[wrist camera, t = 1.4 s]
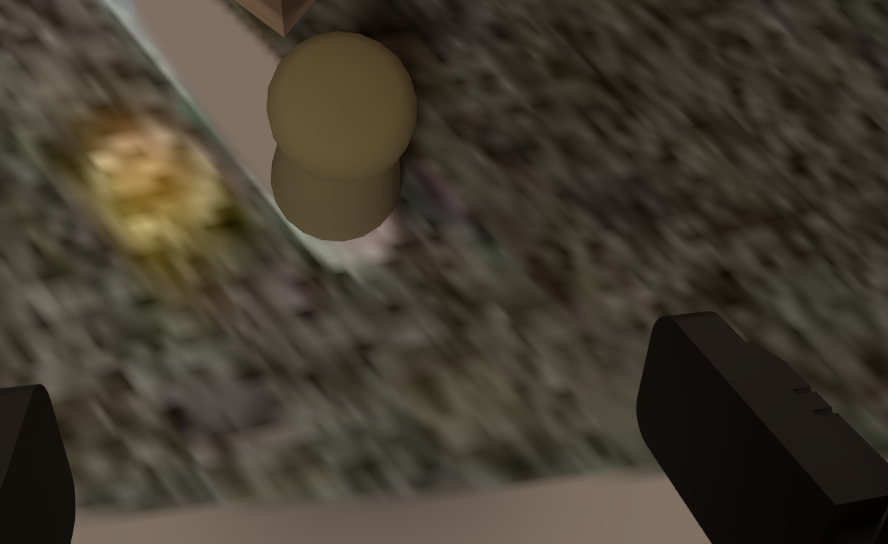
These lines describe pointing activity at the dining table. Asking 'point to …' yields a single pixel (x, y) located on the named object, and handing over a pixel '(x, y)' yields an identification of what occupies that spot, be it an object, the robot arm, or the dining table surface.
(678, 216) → the dining table surface
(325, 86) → the cork
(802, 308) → the dining table surface
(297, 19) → the wooden box
